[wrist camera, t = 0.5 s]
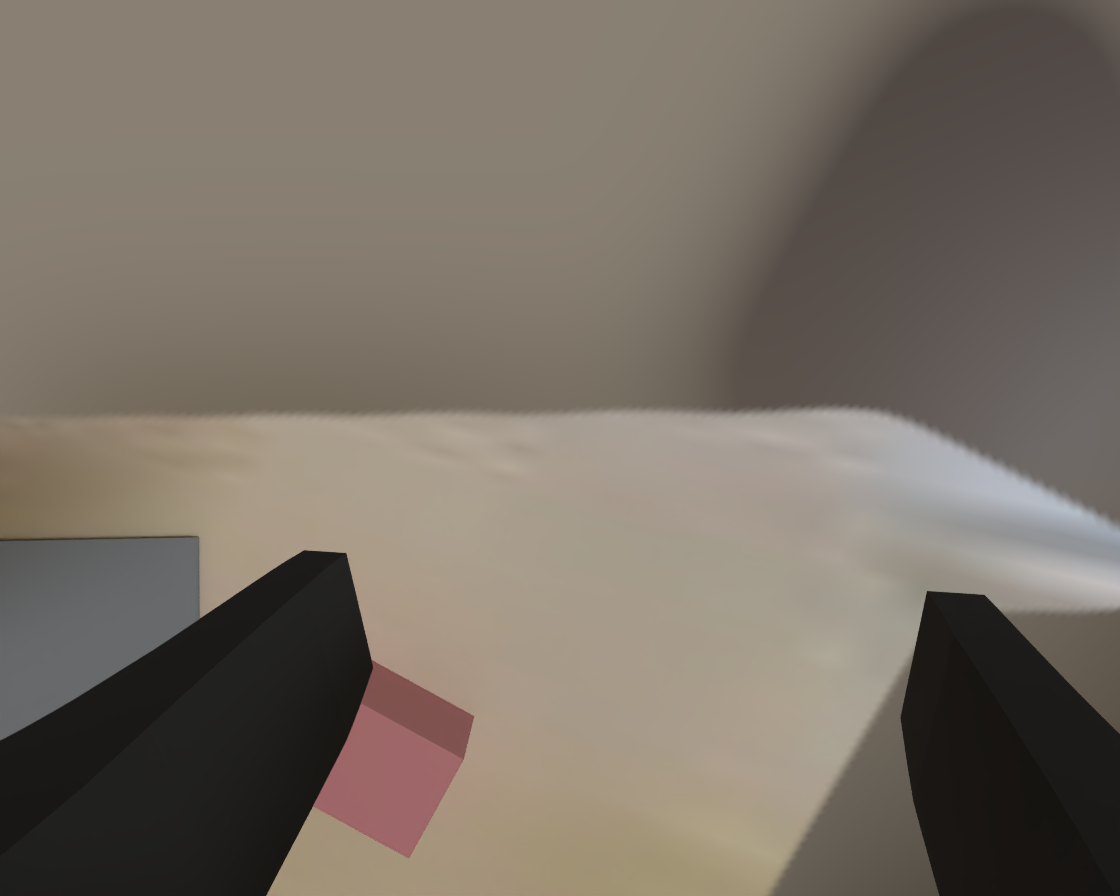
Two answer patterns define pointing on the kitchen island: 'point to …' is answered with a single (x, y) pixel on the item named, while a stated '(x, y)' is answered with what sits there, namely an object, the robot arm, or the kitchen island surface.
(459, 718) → the card box
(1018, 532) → the kitchen island surface
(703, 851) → the kitchen island surface
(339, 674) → the robot arm
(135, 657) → the mat
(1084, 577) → the kitchen island surface
